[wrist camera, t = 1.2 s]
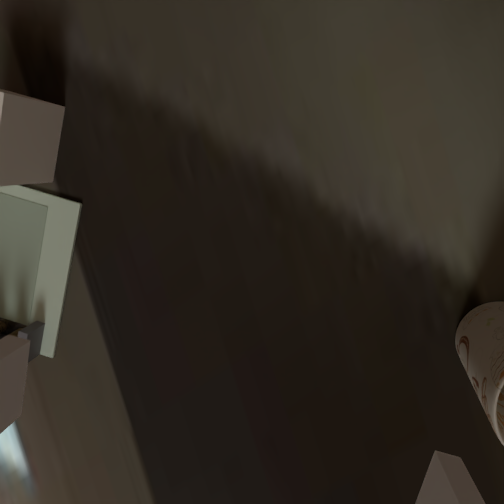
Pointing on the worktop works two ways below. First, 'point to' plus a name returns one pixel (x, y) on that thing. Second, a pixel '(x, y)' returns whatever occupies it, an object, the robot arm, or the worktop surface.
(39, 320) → the board
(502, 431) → the mug
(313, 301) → the worktop surface
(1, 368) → the robot arm
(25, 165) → the plug housing
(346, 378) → the worktop surface
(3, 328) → the header pins
